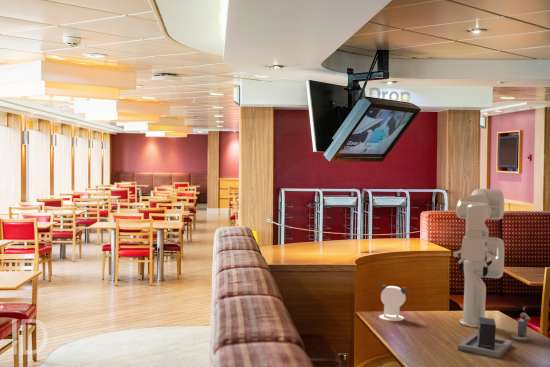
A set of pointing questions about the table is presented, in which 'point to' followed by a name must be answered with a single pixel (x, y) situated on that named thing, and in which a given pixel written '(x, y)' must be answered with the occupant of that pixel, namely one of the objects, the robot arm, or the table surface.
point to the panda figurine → (392, 302)
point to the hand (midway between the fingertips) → (472, 274)
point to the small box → (486, 333)
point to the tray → (472, 347)
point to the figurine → (522, 330)
